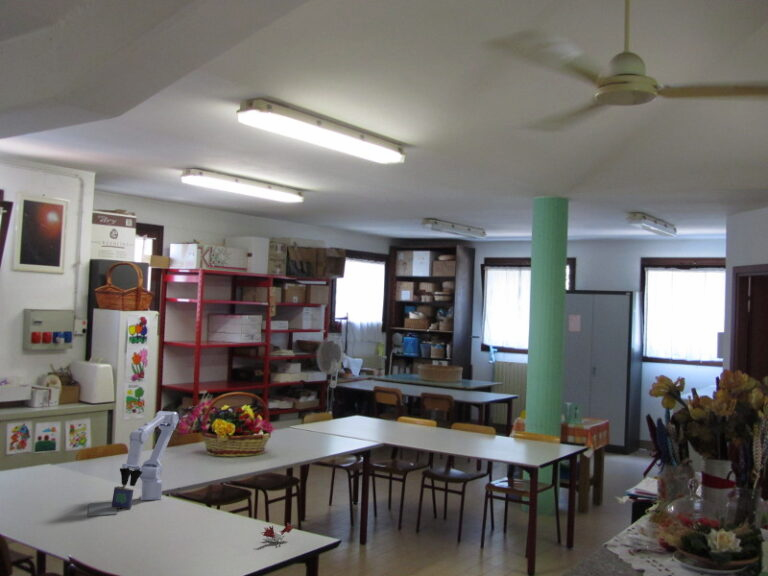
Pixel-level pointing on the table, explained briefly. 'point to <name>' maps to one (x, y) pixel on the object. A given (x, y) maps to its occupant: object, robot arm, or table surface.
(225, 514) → the table surface
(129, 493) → the clover print pouch
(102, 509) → the mat
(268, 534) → the figurine
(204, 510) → the table surface
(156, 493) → the robot arm
